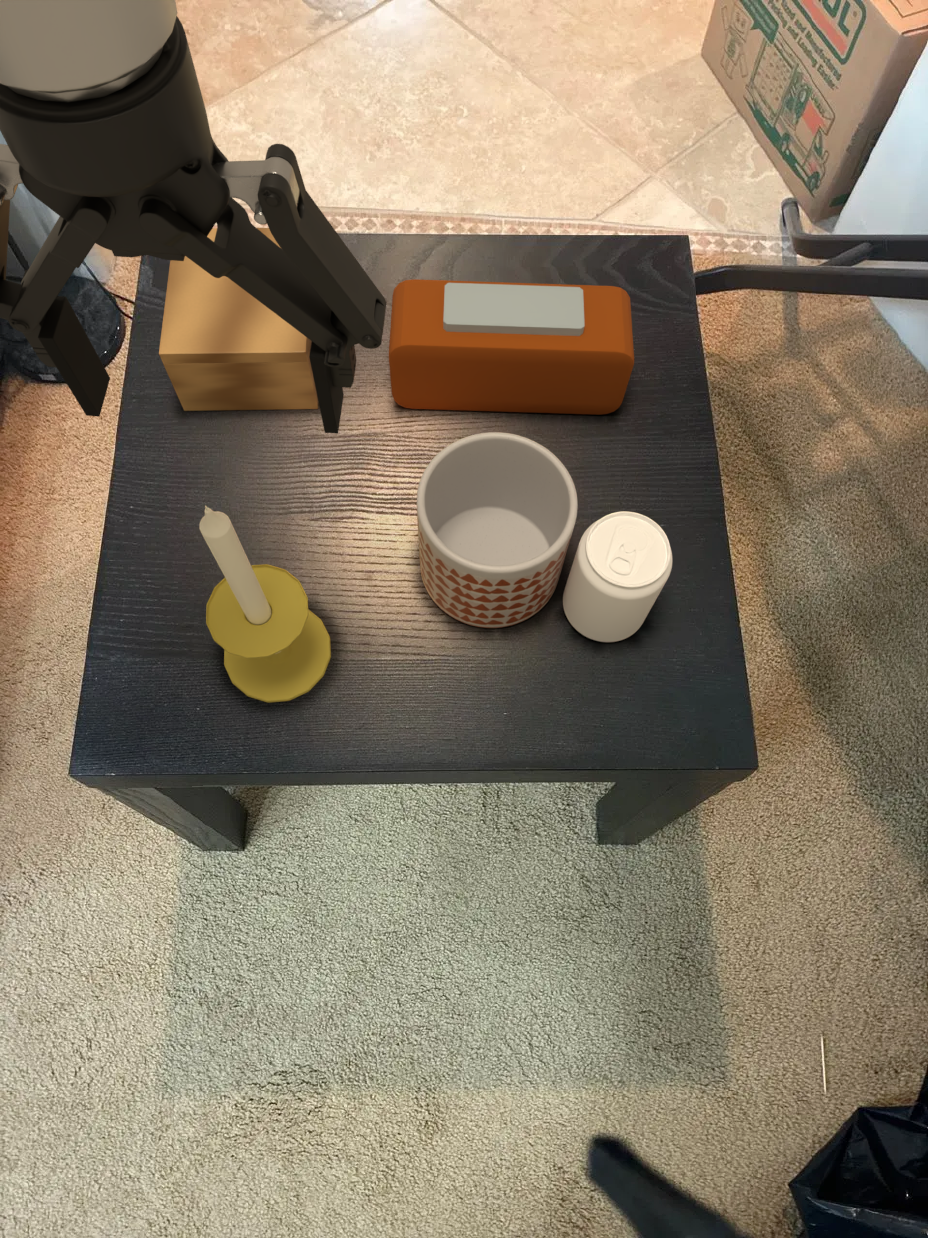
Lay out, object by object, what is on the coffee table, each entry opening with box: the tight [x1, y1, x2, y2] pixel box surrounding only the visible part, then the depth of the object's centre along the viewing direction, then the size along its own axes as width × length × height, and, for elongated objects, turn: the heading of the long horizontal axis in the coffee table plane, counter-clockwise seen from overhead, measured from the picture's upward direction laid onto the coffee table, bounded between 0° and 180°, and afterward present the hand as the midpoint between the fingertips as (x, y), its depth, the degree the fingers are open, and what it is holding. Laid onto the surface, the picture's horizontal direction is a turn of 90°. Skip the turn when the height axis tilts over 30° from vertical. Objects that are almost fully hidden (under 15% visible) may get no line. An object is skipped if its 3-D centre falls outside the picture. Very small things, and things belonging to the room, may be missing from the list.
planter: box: [416, 431, 579, 629], centre depth 79 cm, size 14×14×13 cm
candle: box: [198, 505, 332, 704], centre depth 69 cm, size 10×10×27 cm
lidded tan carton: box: [158, 227, 319, 412], centre depth 90 cm, size 14×16×9 cm
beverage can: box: [562, 510, 673, 643], centre depth 78 cm, size 8×8×12 cm
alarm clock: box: [388, 278, 635, 416], centre depth 89 cm, size 24×8×11 cm, turn 89°
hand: (216, 405), depth 50 cm, fingers open, 13 cm apart
